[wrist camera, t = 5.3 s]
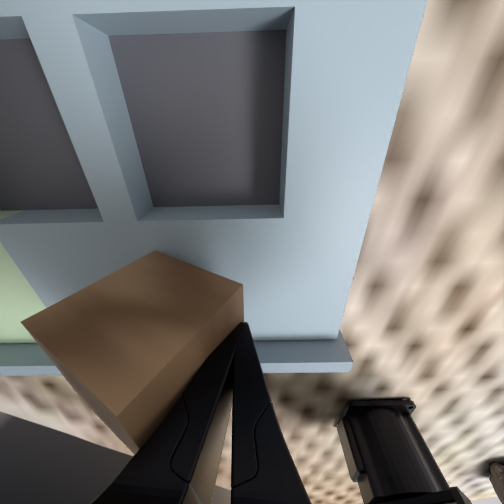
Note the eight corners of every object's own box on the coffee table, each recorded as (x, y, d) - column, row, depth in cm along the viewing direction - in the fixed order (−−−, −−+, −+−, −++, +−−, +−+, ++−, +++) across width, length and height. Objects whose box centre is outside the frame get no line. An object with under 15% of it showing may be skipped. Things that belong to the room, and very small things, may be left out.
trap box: (427, -78, 7) (605, -281, 3) (331, 325, 16) (352, 380, 13) (-420, -44, 7) (-1036, -194, 4) (-34, 330, 17) (-109, 385, 13)
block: (243, 284, 8) (116, 416, 5) (245, 362, 11) (165, 486, 7) (154, 250, 10) (20, 321, 7) (174, 322, 13) (84, 402, 9)
